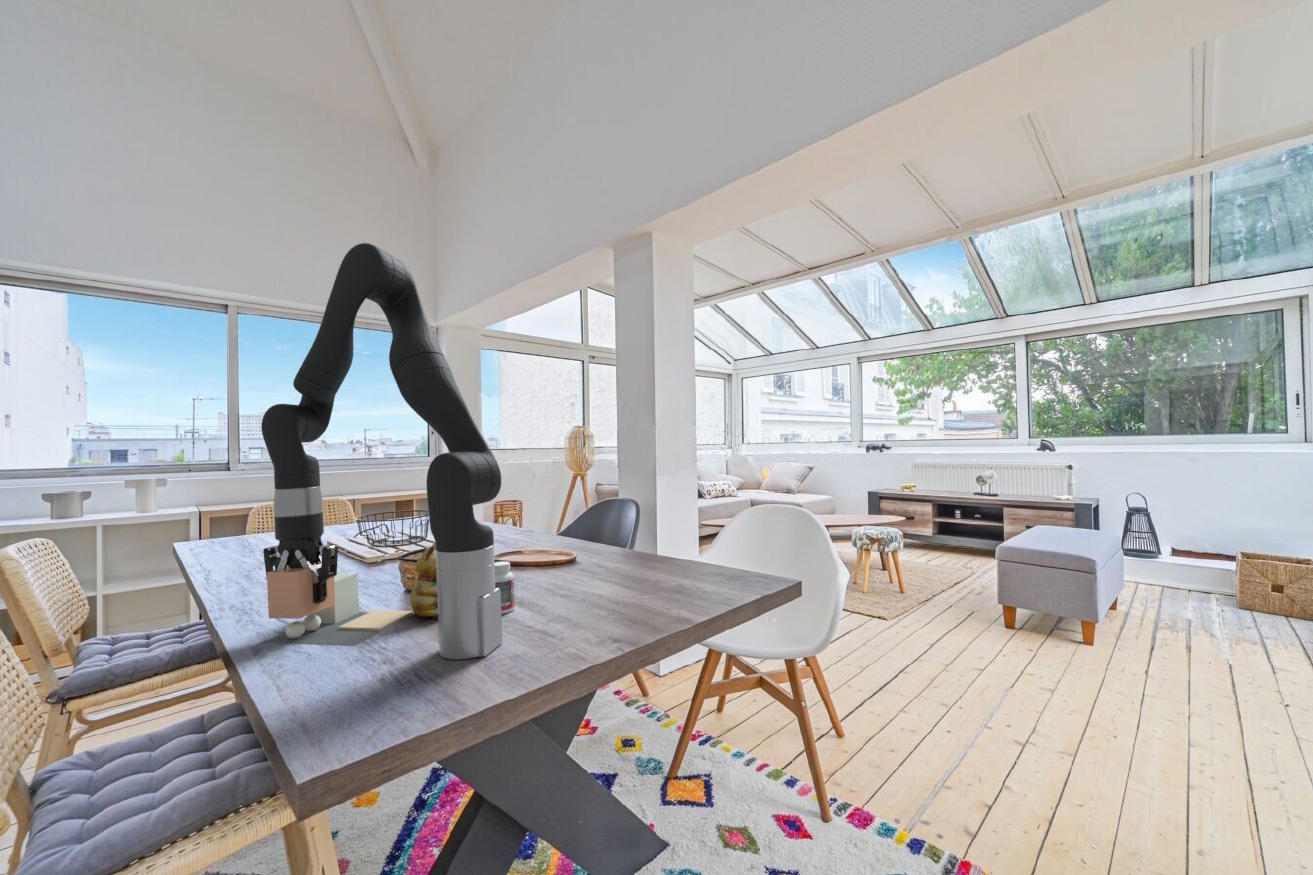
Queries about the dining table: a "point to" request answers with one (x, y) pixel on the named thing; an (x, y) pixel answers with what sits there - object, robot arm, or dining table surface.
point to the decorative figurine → (426, 585)
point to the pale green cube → (342, 599)
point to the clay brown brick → (295, 593)
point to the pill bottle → (505, 586)
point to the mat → (347, 629)
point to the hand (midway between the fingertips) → (302, 602)
